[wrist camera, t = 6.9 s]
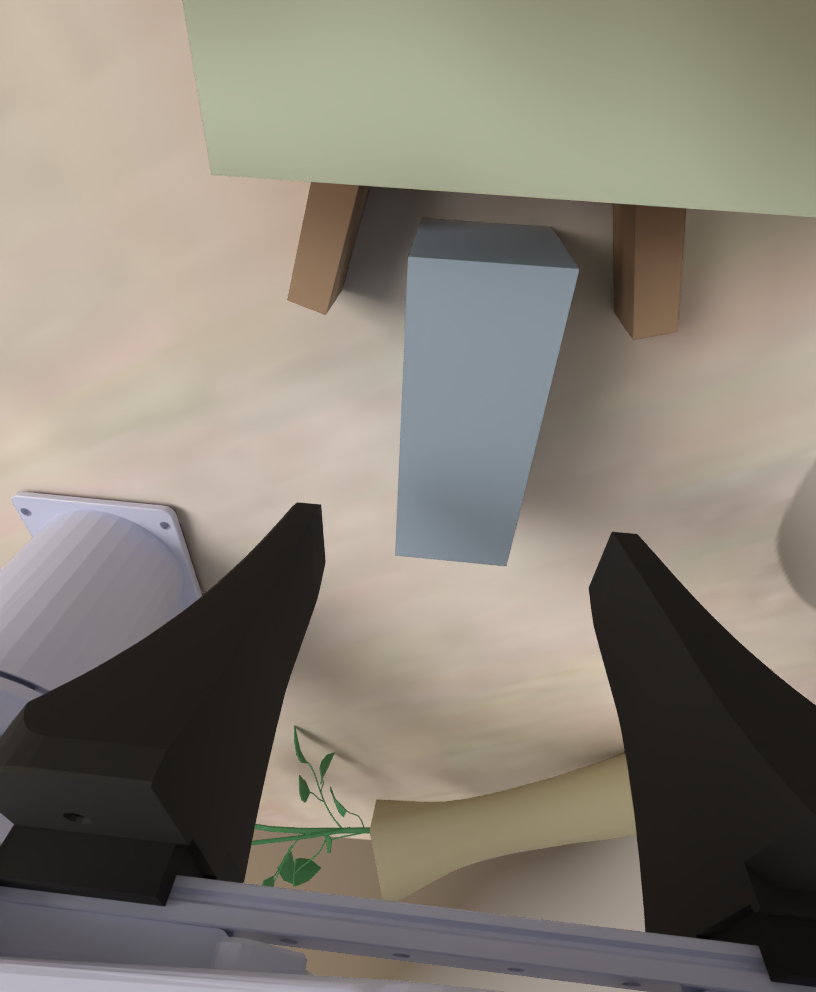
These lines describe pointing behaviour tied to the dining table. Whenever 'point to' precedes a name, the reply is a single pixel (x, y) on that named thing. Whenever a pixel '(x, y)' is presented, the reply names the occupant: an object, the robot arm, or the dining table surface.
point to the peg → (475, 381)
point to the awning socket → (516, 115)
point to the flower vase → (473, 825)
